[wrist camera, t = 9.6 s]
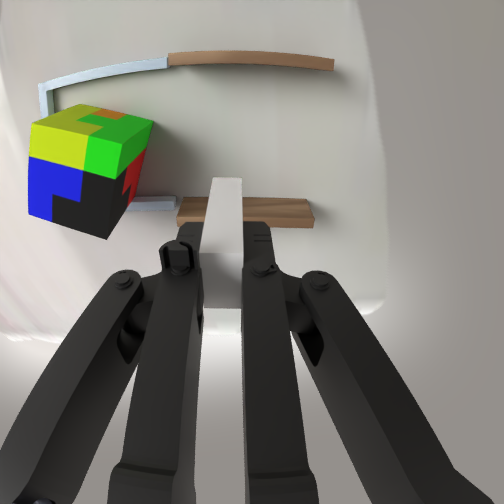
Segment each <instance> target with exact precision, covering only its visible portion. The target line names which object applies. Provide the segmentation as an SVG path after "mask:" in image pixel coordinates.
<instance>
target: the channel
mask: <svg viewBox="0 0 504 504" xmlns="http://www.w3.org/2000/svg"><path fill="white" fill-rule="evenodd" d="M194 64H262V65H278V66H290V67H300V68H309V69H317V70H327V71H333V70H334V59H329V58H322V57H315V56H308V55H299V54H289V53H278V52H262V51H195V52H180V53H168V65H194ZM208 201H209V197H184V198H183V201H182V203H181V206H180V209H179V211H178V214H177V217H176V218H177V227H181V226H182V225H183V224H184V223H185V222H205V216H206V211H207V206H208ZM242 214H243V221H264V222H265V223H266V224H267V225H268V226H269V227H280V228H313V226H314V220H315V219H314V216H313V214H312V212H311V209H310V207H309V205H308V203H307V200H306V199H290V198H255V197H242Z"/></svg>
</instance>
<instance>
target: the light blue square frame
mask: <svg viewBox="0 0 504 504" xmlns="http://www.w3.org/2000/svg"><path fill="white" fill-rule="evenodd" d="M163 68H170V65H168V57H165V58H156V59H147V60H140V61H133V62H127V63H121V64H115V65H110V66H105V67H100V68H95V69H91V70H86V71H82V72H78V73H74V74H70V75H67V76H63V77H59V78H56V79H53V80H49V81H46V82H43V83H40V84H38V89H39V101H40V110H41V119H43V118H45V117H47V116H50V115H52V114H55V111H54V101H53V89H55V88H58V87H62V86H66V85H70V84H74V83H78V82H82V81H87V80H91V79H96V78H101V77H106V76H112V75H117V74H124V73H130V72H137V71H145V70H153V69H163ZM175 207H176V196H149V197H134V199H133V200H132V202H131V203H130V204H129V206H128V207H127V209H126V210H125V211H154V210H175Z"/></svg>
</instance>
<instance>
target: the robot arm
mask: <svg viewBox="0 0 504 504" xmlns="http://www.w3.org/2000/svg"><path fill="white" fill-rule="evenodd" d="M159 254H160V260H161V265H162V271H161V272H160V273H158V274H156V275H152V276H148V277H144V278H141V276H140V275H139V274H138V272H136V271H133V270H121V271H118V272H116V273H114V274H113V275H112V276H110V277H109V278H108V280H107V281H106V282H105V284H104V285H103V286H102V287H101V289H100V290H99V291H98V293H97V294H96V295H95V297H94V298H93V299H92V301H91V302H90V303H89V305H88V306H87V308H86V309H85V310H84V312H83V313H82V314H81V316H80V317H79V319H78V320H77V322H76V323H75V324H74V326H73V327H72V329H71V330H70V332H69V333H68V334H67V336H66V337H65V339H64V340H63V342H62V343H61V345H60V346H59V348H58V350H57V351H56V352H55V354H54V356H53V357H52V359H51V360H50V362H49V363H48V365H47V366H46V368H45V370H44V371H43V373H42V375H41V376H40V378H39V379H38V381H37V383H36V384H35V386H34V388H33V390H32V391H31V393H30V395H29V396H28V398H27V400H26V402H25V403H24V405H23V407H22V409H21V411H20V412H19V414H18V416H17V418H16V420H15V422H14V424H13V426H12V427H11V429H10V431H9V433H8V435H7V437H6V439H5V441H4V443H3V445H2V448H1V450H0V504H72V503H73V502H74V500H75V498H76V496H77V494H78V492H79V490H80V488H81V486H82V483H83V481H84V478H85V476H86V474H87V471H88V469H89V467H90V464H91V462H92V460H93V458H94V455H95V453H96V450H97V448H98V446H99V444H100V442H101V440H102V437H103V435H104V433H105V431H106V429H107V426H108V424H109V422H110V420H111V418H112V416H113V414H114V412H115V409H116V407H117V405H118V403H119V401H120V399H121V396H122V395H123V393H124V391H125V389H126V387H127V385H128V383H129V381H130V378H131V377H132V375H133V373H134V371H135V368H136V367H137V365H138V367H137V373H136V377H135V382H134V387H133V392H132V397H131V403H130V409H129V414H128V420H127V426H126V432H125V439H124V446H123V453H122V458H121V460H120V462H119V463H118V464H117V465H116V466H115V467H114V468H113V470H112V472H111V476H110V481H109V490H108V500H107V504H196V492H195V487H194V466H195V440H196V418H197V400H198V385H199V371H200V357H201V345H202V333H203V322H204V316H203V303H204V308H241V335H242V385H243V428H244V460H245V462H244V463H245V504H319V498H318V490H317V484H316V480H315V477H314V474H313V473H312V471H311V470H310V468H309V465H308V459H307V451H306V443H305V435H304V427H303V420H302V412H301V405H300V398H299V390H298V383H297V376H296V369H295V362H294V355H293V349H292V342H291V336H290V331H291V332H292V335H293V338H294V340H295V342H296V344H297V346H298V348H299V350H300V352H301V355H302V357H303V359H304V361H305V363H306V365H307V367H308V369H309V372H310V373H311V376H312V378H313V380H314V382H315V384H316V386H317V388H318V391H319V393H320V395H321V397H322V399H323V401H324V404H325V406H326V408H327V410H328V412H329V414H330V416H331V418H332V421H333V423H334V425H335V426H336V429H337V431H338V433H339V435H340V438H341V439H342V442H343V444H344V446H345V448H346V450H347V453H348V454H349V457H350V459H351V461H352V463H353V465H354V467H355V470H356V472H357V474H358V476H359V478H360V480H361V482H362V484H363V486H364V489H365V491H366V493H367V495H368V497H369V499H370V500H371V502H372V504H494V503H493V501H492V500H491V499H490V498H489V497H488V496H486V495H485V494H484V493H483V492H482V491H480V490H479V489H478V488H477V487H476V486H474V485H473V484H472V483H471V482H469V481H468V480H467V479H466V478H465V477H464V476H462V475H461V474H460V473H459V472H458V471H456V470H455V469H454V468H453V465H452V464H451V462H450V460H449V458H448V456H447V454H446V452H445V451H444V449H443V447H442V445H441V443H440V442H439V440H438V438H437V436H436V434H435V433H434V431H433V429H432V428H431V426H430V424H429V422H428V421H427V419H426V417H425V415H424V414H423V412H422V410H421V409H420V407H419V405H418V404H417V402H416V400H415V399H414V397H413V395H412V394H411V392H410V390H409V389H408V387H407V385H406V384H405V383H404V381H403V379H402V377H401V376H400V374H399V373H398V371H397V370H396V368H395V366H394V365H393V363H392V362H391V360H390V358H389V357H388V355H387V354H386V352H385V351H384V349H383V348H382V346H381V345H380V343H379V341H378V340H377V339H376V337H375V335H374V334H373V332H372V331H371V329H370V328H369V327H368V325H367V323H366V322H365V320H364V319H363V317H362V316H361V314H360V313H359V311H358V310H357V309H356V307H355V306H354V304H353V303H352V301H351V300H350V298H349V297H348V295H347V294H346V293H345V291H344V290H343V288H342V287H341V285H340V284H339V283H338V281H337V280H336V279H335V278H334V277H333V276H332V275H330V274H329V273H327V272H323V271H310V272H307V273H306V274H305V275H303V276H302V278H298V277H293V276H290V275H287V274H285V273H283V272H282V271H281V270H280V269H279V267H278V265H277V264H276V262H275V256H274V250H273V244H272V237H271V231H270V227H269V226H268V225H267V224H266V223H265V222H264V221H243V214H242V178H227V177H213V180H212V185H211V190H210V195H209V201H208V206H207V211H206V216H205V222H185V223H184V224H183V225H182V226H181V227H180V228H179V231H178V235H177V238H176V240H172V241H169V242H167V243H165V244H164V245H162V246H161V248H160V249H159Z"/></svg>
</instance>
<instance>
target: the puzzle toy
mask: <svg viewBox="0 0 504 504" xmlns="http://www.w3.org/2000/svg"><path fill="white" fill-rule="evenodd" d="M153 122H154V121H152V120H148V119H144V118H140V117H136V116H132V115H128V114H124V113H120V112H115V111H111V110H106V109H102V108H97V107H92V106H87V105H82V104H78V105H76V106H73V107H70V108H67V109H65V110H62V111H60V112H57V113H55V114H52V115H50V116H47V117H45V118H43V119H41V120H38V121H36V122H34V123H32V126H31V135H30V147H29V164H28V213H29V215H32V216H35V217H38V218H41V219H44V220H47V221H50V222H53V223H56V224H59V225H62V226H65V227H68V228H71V229H74V230H77V231H80V232H84V233H87V234H90V235H93V236H96V237H99V238H102V239H106V240H107V239H108V237H109V236H110V234H111V232H112V231H113V229H114V228H115V226H116V224H117V223H118V221H119V220H120V218H121V217H122V215H123V214H124V212H125V210H126V209H127V207H128V206H129V204H130V203H131V202H132V200H133V199H134V197H135V194H136V189H137V185H138V180H139V176H140V171H141V167H142V163H143V159H144V155H145V151H146V147H147V143H148V139H149V136H150V132H151V129H152V125H153Z"/></svg>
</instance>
